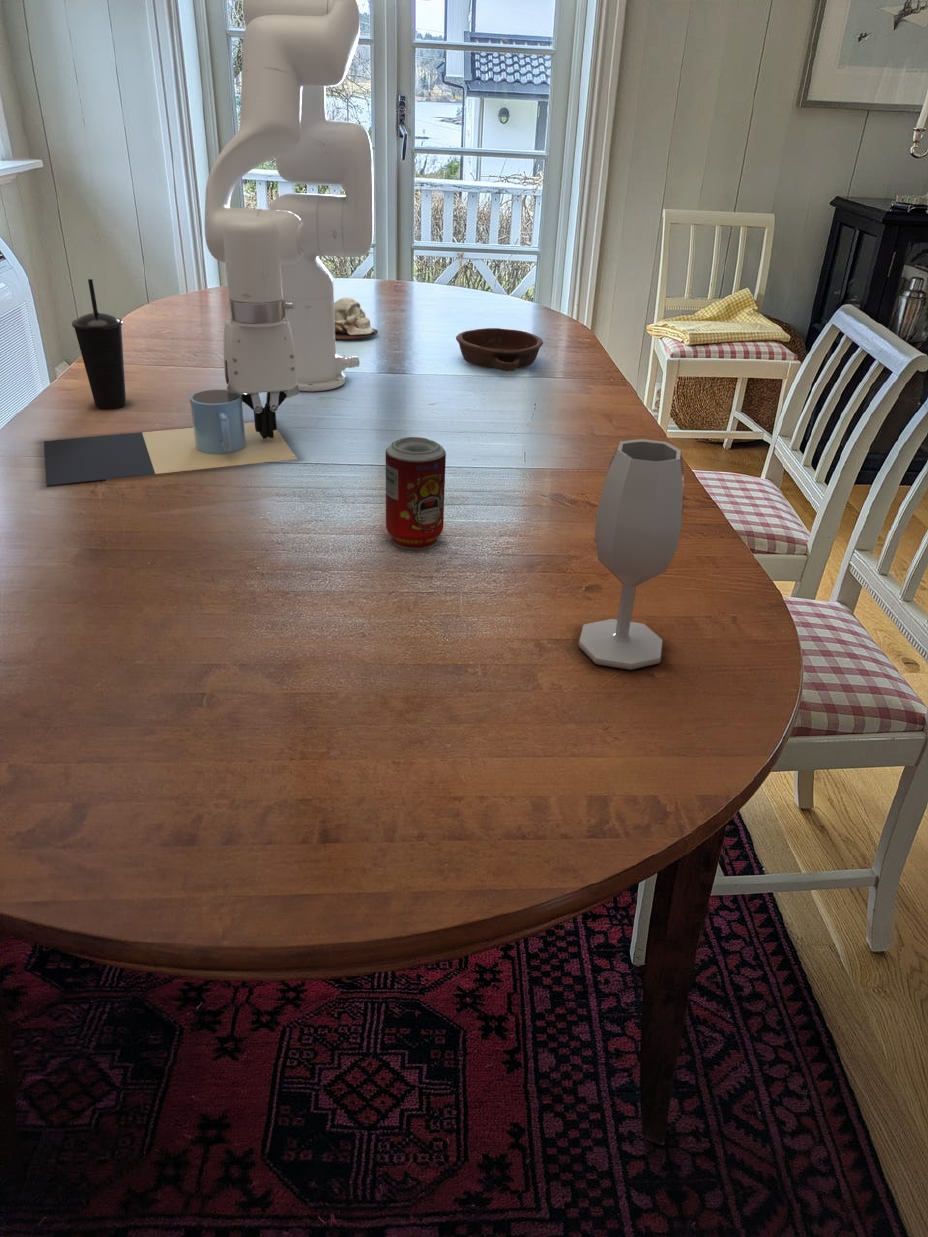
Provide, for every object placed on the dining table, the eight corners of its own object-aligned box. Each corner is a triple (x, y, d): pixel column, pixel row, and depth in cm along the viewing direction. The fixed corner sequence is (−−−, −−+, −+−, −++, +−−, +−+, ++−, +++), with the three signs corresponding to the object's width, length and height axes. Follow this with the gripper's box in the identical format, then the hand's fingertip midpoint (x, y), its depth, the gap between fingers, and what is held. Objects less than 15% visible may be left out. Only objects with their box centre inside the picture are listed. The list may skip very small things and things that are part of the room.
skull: (391, 327, 201) (373, 297, 191) (371, 366, 199) (352, 337, 189) (348, 317, 206) (328, 287, 196) (327, 355, 203) (306, 326, 194)
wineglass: (569, 626, 95) (591, 433, 84) (650, 625, 96) (682, 433, 85) (586, 673, 88) (612, 467, 77) (674, 671, 88) (712, 468, 78)
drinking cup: (120, 414, 148) (99, 285, 137) (77, 409, 149) (53, 281, 139) (143, 400, 154) (125, 276, 144) (102, 396, 155) (81, 273, 145)
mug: (192, 439, 138) (186, 391, 134) (240, 435, 141) (236, 387, 137) (203, 464, 130) (197, 412, 126) (255, 458, 132) (250, 408, 128)
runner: (270, 421, 147) (270, 420, 147) (297, 459, 133) (297, 458, 133) (44, 442, 135) (43, 441, 135) (46, 486, 121) (46, 485, 121)
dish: (461, 378, 173) (461, 351, 170) (450, 348, 192) (450, 324, 189) (550, 378, 175) (553, 352, 172) (531, 349, 194) (533, 325, 191)
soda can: (411, 557, 107) (411, 459, 101) (374, 537, 112) (372, 441, 105) (455, 541, 111) (458, 446, 105) (418, 523, 116) (419, 430, 110)
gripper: (301, 303, 135) (307, 423, 144) (199, 308, 129) (212, 432, 139) (315, 314, 129) (320, 438, 138) (208, 319, 124) (221, 448, 133)
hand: (266, 435), depth 138 cm, fingers closed
